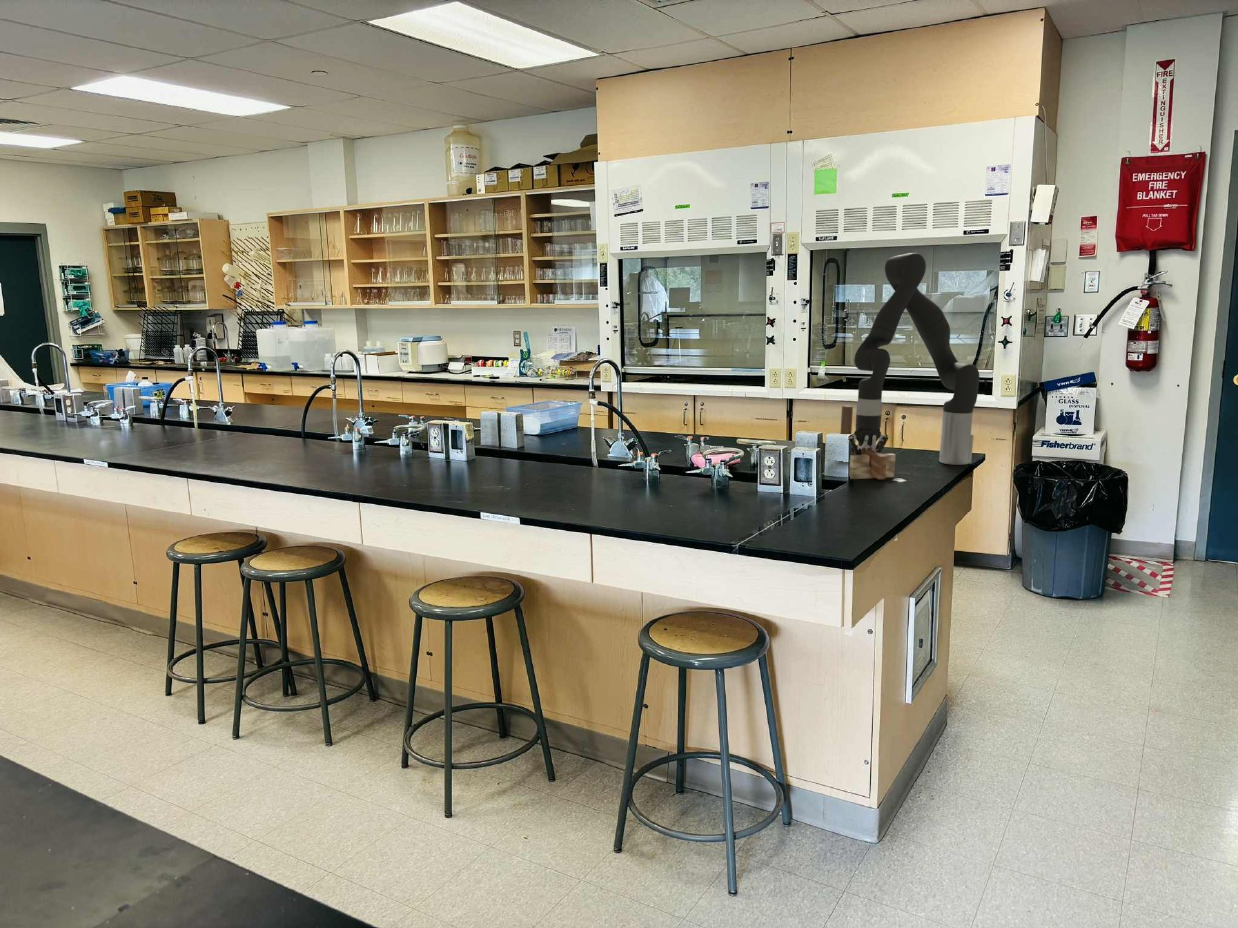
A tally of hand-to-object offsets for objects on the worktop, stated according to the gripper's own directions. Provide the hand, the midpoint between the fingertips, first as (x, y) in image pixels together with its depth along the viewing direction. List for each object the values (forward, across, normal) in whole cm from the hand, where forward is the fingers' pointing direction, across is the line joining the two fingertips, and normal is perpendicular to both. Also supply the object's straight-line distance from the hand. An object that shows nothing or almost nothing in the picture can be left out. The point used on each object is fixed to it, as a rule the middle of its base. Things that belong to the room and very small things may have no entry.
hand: (865, 467), depth 270 cm
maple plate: (+2, 0, +4) cm, 5 cm away
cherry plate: (+1, 0, +4) cm, 4 cm away
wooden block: (+2, -8, -23) cm, 24 cm away
